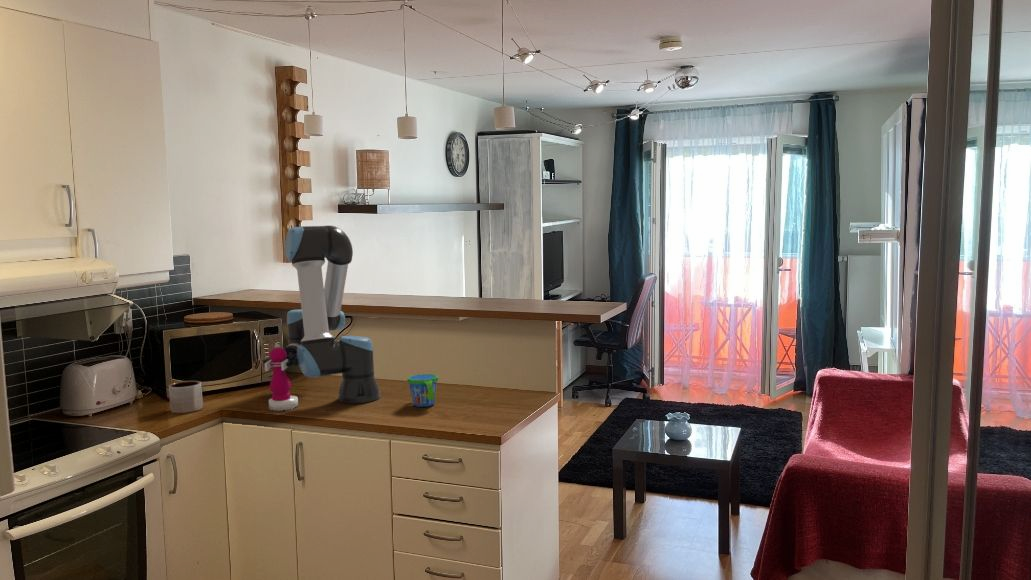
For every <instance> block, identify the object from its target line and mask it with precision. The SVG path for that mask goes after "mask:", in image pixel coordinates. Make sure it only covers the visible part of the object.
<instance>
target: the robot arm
mask: <svg viewBox="0 0 1031 580" xmlns="http://www.w3.org/2000/svg"><path fill="white" fill-rule="evenodd" d="M284 243H285V244H284V255H285V258H286V260H288V261H290V262H291V266H292V267H294V268H295V269H296V271H297V282H298V291H299V298H300V308H301V309H291V310H289V311H288V312H287V314H286V325H287V335H288V345H287V346H285V347H282V348H283V349H284V350H285V351H286V353H287V357H286V359H285V360H284V361H283V362H282V363H281V369H282V370H285V371H286V370H287V369H288V368H289V367H293V366H299V368H300V372H302V374H303V375H304V376H305V377H307V378H319V377H325V376H332V375H338V374H341V382H340V387H339V392H338V394H337V395H338V396H337V397H338V401H339V402H340V403H342V402H343V404H364V403H370V402H374V401H377V400H378V399H381V390H380V389H379V385H378V383H377V380H376V377H375V366H374V365H375V364H374V345H373V340H371V339H370V338H369V337H366V336H361V335H358V336H357V335H342V336H340V337H339V340H338V341H335V336H334V335H333V334H331V333H330V331H337V330H342V329H344V327H346V316H345V313H344V311H342V304H343V298H344V292H345V286H346V280H347V274H348V269H349V265H350V264H351V263H352V261H353V254H354V252H353V249H354V248H353V245H352V242H351V239H350V237H349V236H348V235H347V233H345V231H344V230H342V229H340V228H339V227H337V226H334V225H313V226H312V225H309V226H308V225H307V226H295V227H291V228H289V229H288V231H287V233H286V236H285V242H284ZM326 261H327V266H326V273H325V280H324V279H323V269H322V267H323V265H324V264H325V263H326ZM271 362H272V360H271V359H270V358H269V356H267V357H266V358H264V359H263V360H262V365H263V368H264V371H265V372H268V371H269V370H272V369H273V366H271V365H272V363H271Z"/></svg>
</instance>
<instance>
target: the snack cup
mask: <svg viewBox="0 0 1031 580" xmlns="http://www.w3.org/2000/svg"><path fill="white" fill-rule="evenodd" d="M406 379H407V383H408V385H409V389H410V395H411V400H412V403H413V405H414V406H415V407H419V408H422V407H423V408H425V407H431V406H433V405H435V404H436V393H437V382H438V381H439V376H438V375H437V374H434V373H420V374H413V375H411V376H408V377H407V378H406Z"/></svg>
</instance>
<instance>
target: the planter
mask: <svg viewBox="0 0 1031 580" xmlns="http://www.w3.org/2000/svg"><path fill="white" fill-rule="evenodd" d="M168 392H169V393H168V394H169V408H170V409H169V410H170V412H171V413H174V414H178V413H182V414H189V413H190V412H191V413H194V412H198V411H201V410H202V409H203V408H204V400H203V391H202V381H199V380H184V381H183V380H182V381H177V382H174V383H170V384H169V385H168Z"/></svg>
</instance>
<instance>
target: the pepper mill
mask: <svg viewBox="0 0 1031 580" xmlns="http://www.w3.org/2000/svg"><path fill="white" fill-rule="evenodd" d="M283 348H284V347H281V346H280V344H279V343H275V344H274V347H273V348H272V349H271V350H270V351H269V353H268V357H269V358H270V359H271V360H272V362H271V363H272V365H271V366H273V368H272V372H273V373H272V377H271V380H270V383H269V389H270V391H271V393H272V395H271V398H272V400H275V401H281V400H287V399H289V398H290V396H291V393H290V390H291V387H292V384H291V380H290V379H289V377H288V375H287V372H286V369H285V370H282V369H281V363H282V362H283V361H284V360H285V359H286V357H287V353H286V351H285V350H284V349H283Z"/></svg>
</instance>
